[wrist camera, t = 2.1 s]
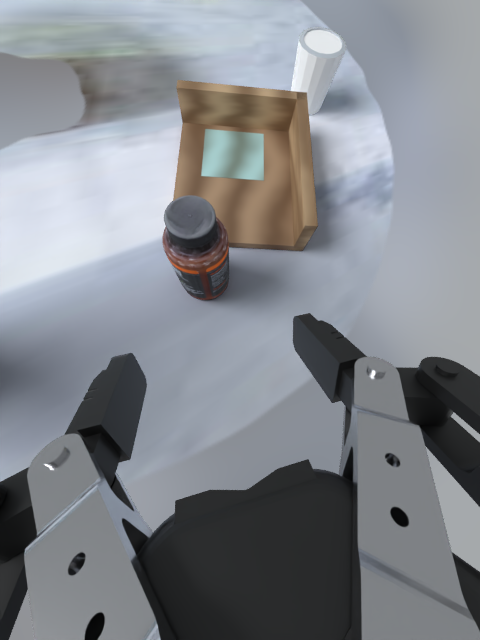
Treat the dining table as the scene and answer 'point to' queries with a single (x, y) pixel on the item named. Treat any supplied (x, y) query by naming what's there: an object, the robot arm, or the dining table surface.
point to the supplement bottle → (197, 246)
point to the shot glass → (317, 64)
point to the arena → (249, 162)
